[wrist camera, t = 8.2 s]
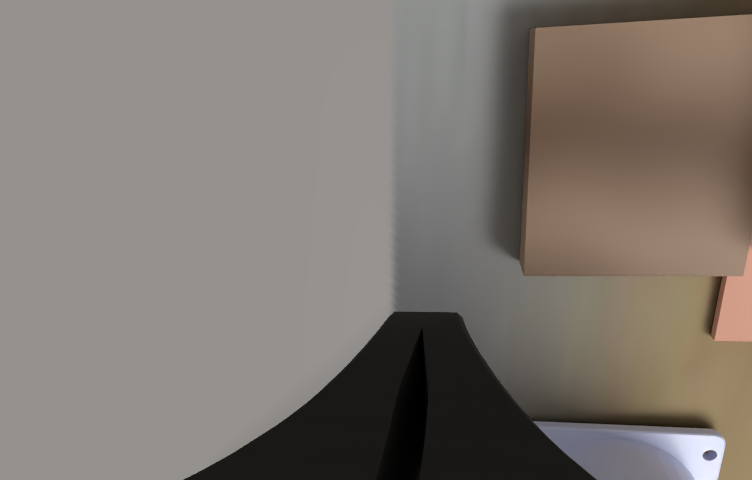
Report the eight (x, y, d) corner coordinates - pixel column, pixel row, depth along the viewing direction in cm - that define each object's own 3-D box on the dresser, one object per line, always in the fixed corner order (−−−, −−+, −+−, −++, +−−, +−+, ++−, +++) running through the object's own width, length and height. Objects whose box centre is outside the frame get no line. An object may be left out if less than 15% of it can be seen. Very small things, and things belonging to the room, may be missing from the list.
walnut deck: (725, 261, 18) (743, 276, 17) (519, 261, 19) (523, 275, 18) (773, 13, 15) (798, 11, 14) (529, 28, 16) (535, 27, 15)
